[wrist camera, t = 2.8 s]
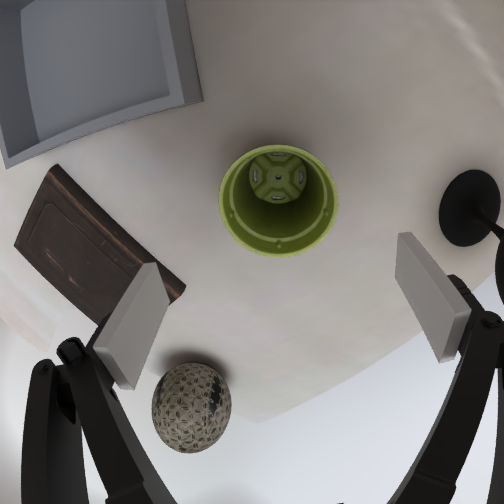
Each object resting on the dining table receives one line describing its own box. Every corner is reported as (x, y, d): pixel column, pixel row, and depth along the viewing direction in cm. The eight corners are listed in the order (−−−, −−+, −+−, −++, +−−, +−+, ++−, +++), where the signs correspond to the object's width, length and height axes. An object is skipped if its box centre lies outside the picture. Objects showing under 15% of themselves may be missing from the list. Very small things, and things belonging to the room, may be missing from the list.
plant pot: (234, 218, 34) (223, 258, 26) (229, 132, 29) (213, 147, 22) (320, 217, 33) (334, 257, 26) (322, 131, 29) (341, 145, 21)
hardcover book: (126, 334, 45) (121, 344, 43) (21, 238, 38) (13, 245, 36) (187, 283, 39) (183, 293, 37) (60, 162, 32) (49, 167, 30)
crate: (20, 9, 20) (-16, 5, 14) (173, -68, 17) (152, -95, 11) (41, 153, 31) (6, 169, 25) (203, 101, 28) (184, 103, 22)
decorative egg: (151, 364, 48) (125, 439, 34) (194, 334, 43) (169, 423, 30) (204, 398, 51) (190, 470, 38) (250, 374, 47) (243, 458, 34)
